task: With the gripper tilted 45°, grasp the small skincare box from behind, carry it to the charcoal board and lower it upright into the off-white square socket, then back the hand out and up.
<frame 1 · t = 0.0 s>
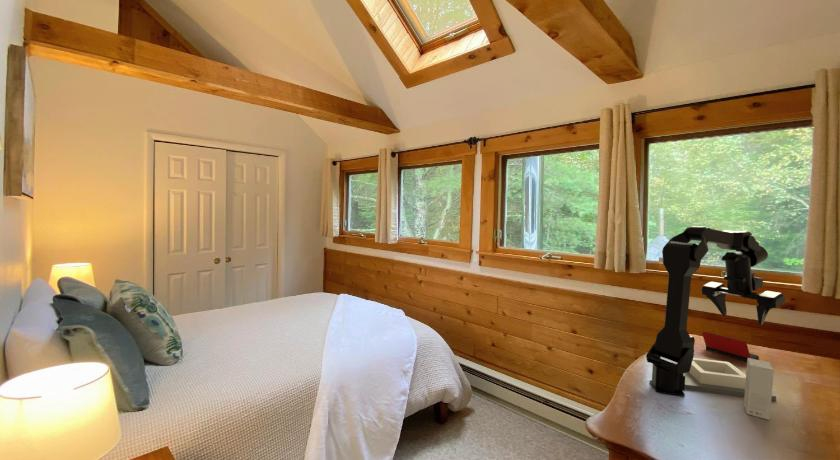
hand: (742, 320, 112), 15 cm above the table, tool pointing down, fingers open, 9 cm apart
handheld game console: (729, 356, 125), on the table
skincare box: (756, 412, 88), on the table
socket board: (714, 381, 104), on the table
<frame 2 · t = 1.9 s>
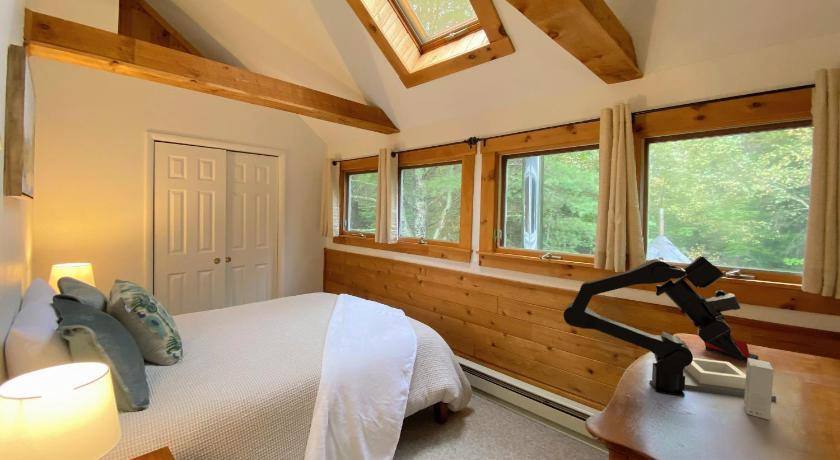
hand: (738, 351, 90), 14 cm above the table, tool tilted 45°, fingers open, 9 cm apart
nothing on the table moved.
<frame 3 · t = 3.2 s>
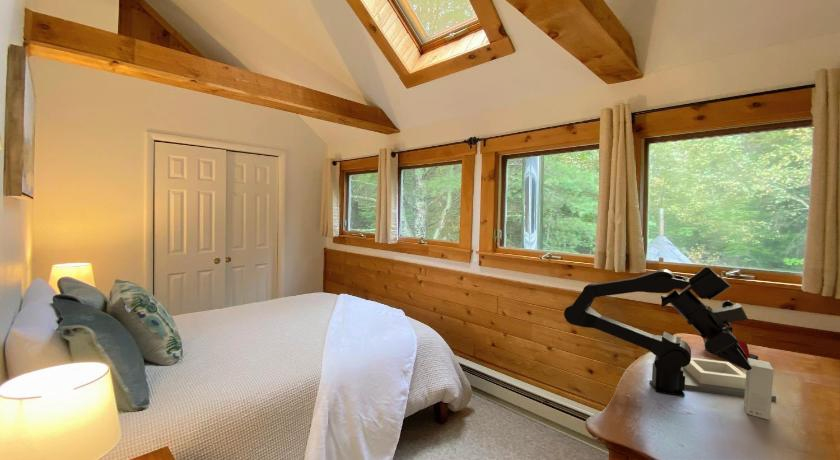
hand: (747, 363, 89), 11 cm above the table, tool tilted 45°, fingers open, 9 cm apart
nothing on the table moved.
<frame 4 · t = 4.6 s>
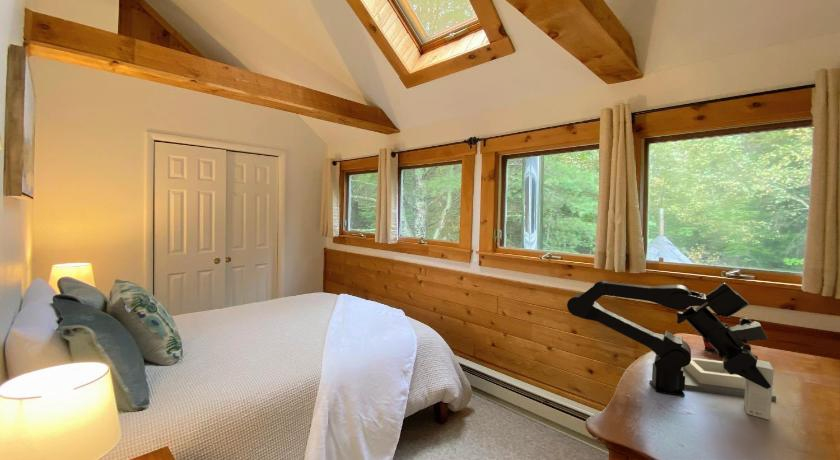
hand: (766, 382, 87), 8 cm above the table, tool tilted 45°, fingers closed on skincare box, 6 cm apart
skincare box: (756, 412, 88), on the table, touching gripper
everything else where it was.
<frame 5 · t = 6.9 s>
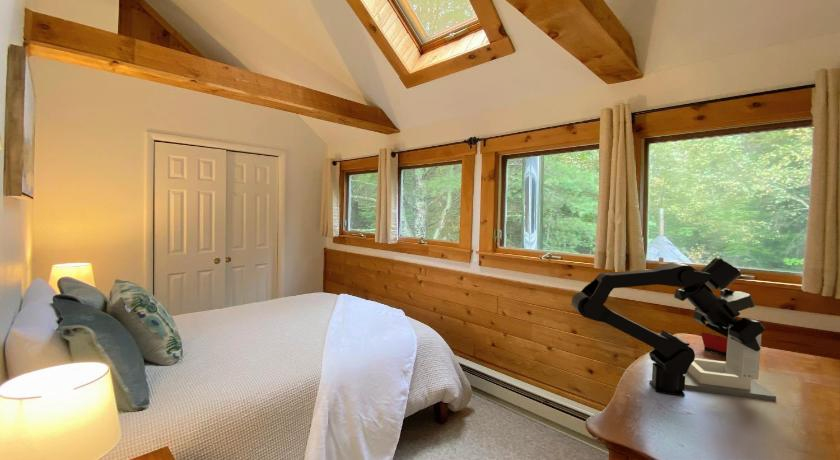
hand: (748, 345, 95), 13 cm above the table, tool tilted 45°, fingers closed on skincare box, 6 cm apart
skincare box: (741, 375, 96), point 5 cm above the table, touching gripper
everything else where it was.
when the fingers open (10 cm above the table, at t = 9.3 s): skincare box stays where it is, resting on socket board.
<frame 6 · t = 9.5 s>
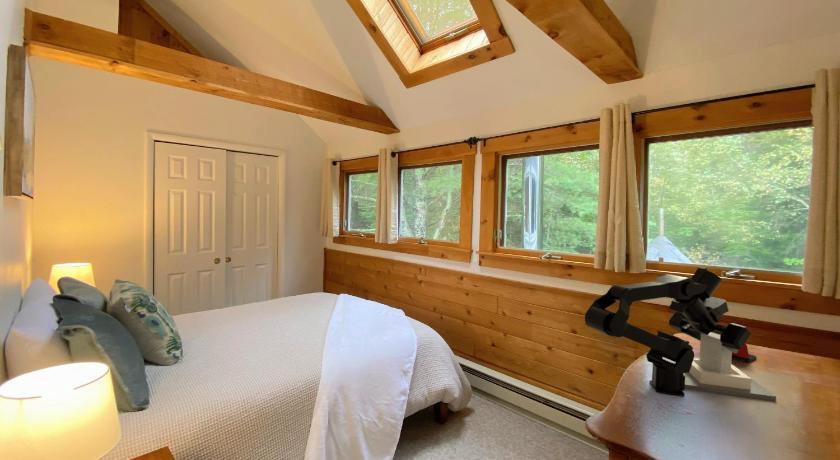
hand: (720, 346, 104), 10 cm above the table, tool tilted 45°, fingers open, 8 cm apart
skincare box: (714, 377, 104), point 1 cm above the table, touching socket board
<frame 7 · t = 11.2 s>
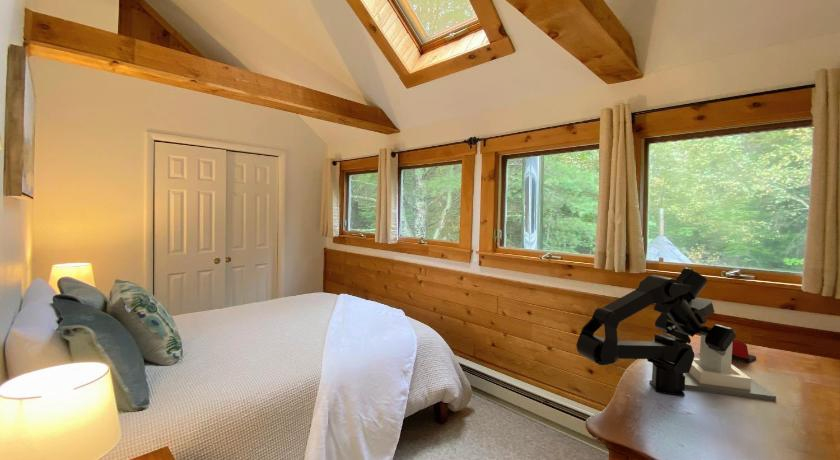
hand: (706, 348, 102), 10 cm above the table, tool tilted 45°, fingers open, 9 cm apart
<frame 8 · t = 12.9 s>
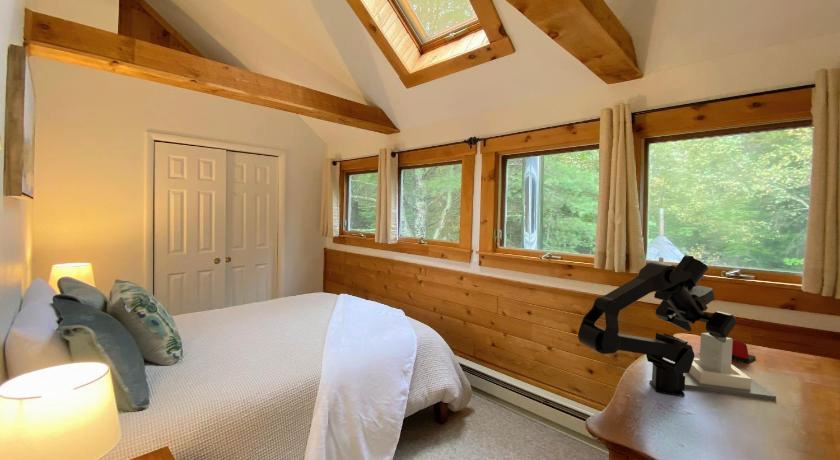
hand: (706, 335, 102), 14 cm above the table, tool tilted 45°, fingers open, 9 cm apart
at the end: skincare box 0.1 cm off-centre on the socket board, point 1.0 cm above the socket board's base; skincare box tilted 0°; the gripper is holding nothing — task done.
